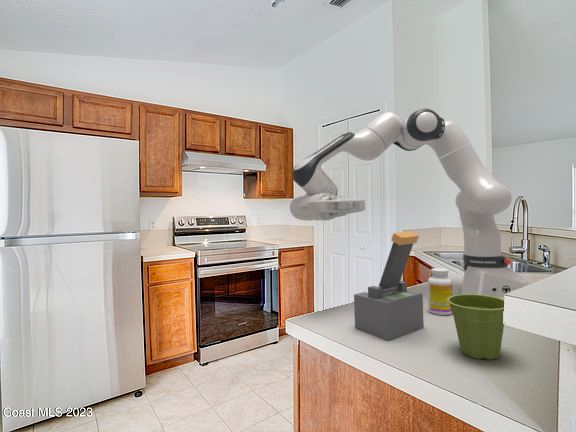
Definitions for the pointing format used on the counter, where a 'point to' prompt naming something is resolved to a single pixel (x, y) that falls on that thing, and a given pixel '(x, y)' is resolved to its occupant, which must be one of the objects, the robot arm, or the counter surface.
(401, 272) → the lever
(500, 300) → the plant pot
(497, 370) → the counter surface
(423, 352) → the counter surface
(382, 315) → the box
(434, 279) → the supplement bottle
